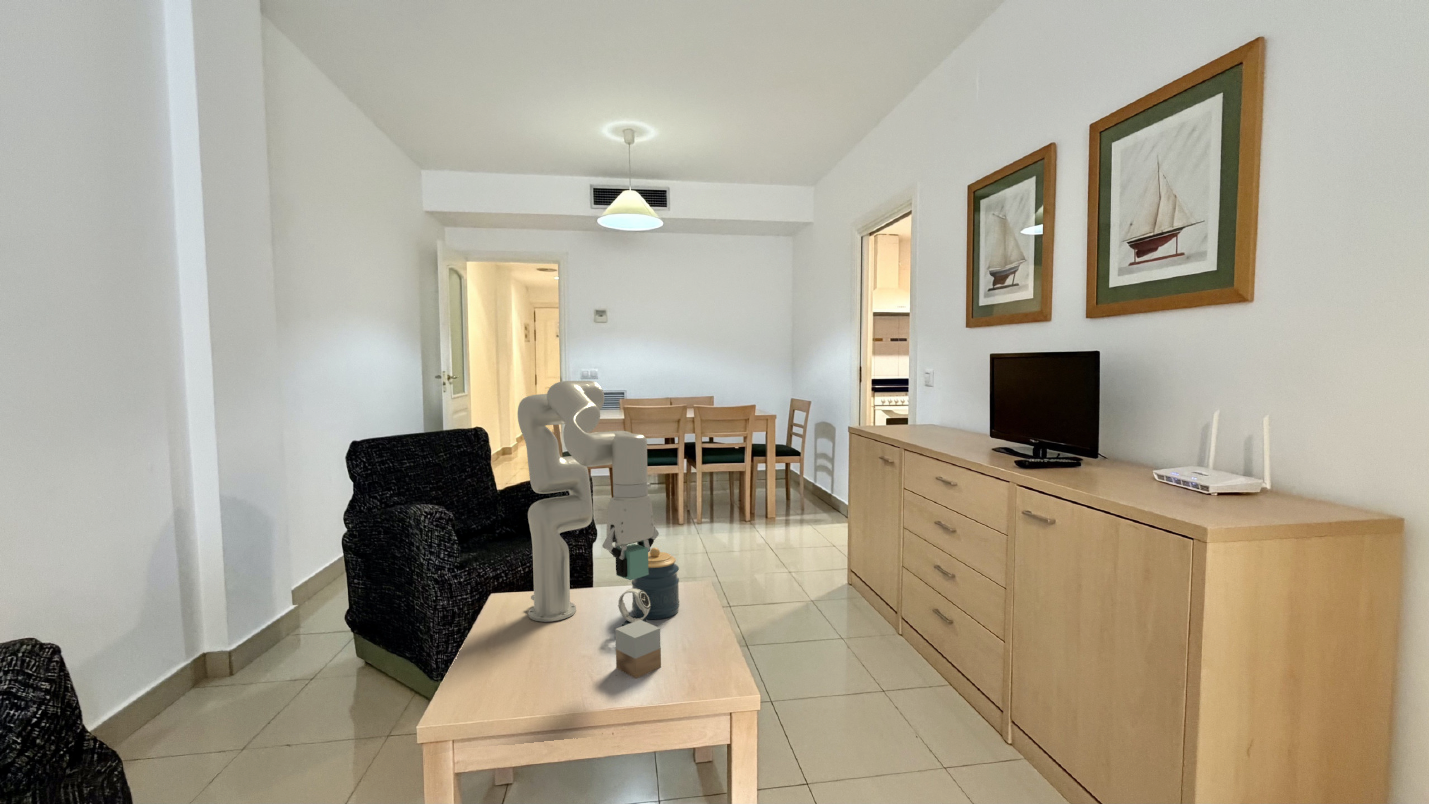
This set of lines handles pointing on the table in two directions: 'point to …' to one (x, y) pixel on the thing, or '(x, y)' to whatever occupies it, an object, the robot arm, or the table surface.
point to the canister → (659, 586)
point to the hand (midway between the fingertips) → (632, 571)
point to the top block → (637, 638)
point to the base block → (638, 663)
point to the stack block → (636, 561)
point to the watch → (641, 601)
